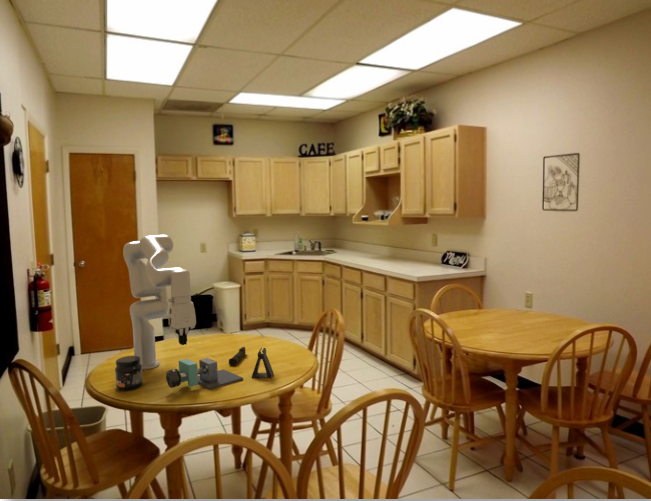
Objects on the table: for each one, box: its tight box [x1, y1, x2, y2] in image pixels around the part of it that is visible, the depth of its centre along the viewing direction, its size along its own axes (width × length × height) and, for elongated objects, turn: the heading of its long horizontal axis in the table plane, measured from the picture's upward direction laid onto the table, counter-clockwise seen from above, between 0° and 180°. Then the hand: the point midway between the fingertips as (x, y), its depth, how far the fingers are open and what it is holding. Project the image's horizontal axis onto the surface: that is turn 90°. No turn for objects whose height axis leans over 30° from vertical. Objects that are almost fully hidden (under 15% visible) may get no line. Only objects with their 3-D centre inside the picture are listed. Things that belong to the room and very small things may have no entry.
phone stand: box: [251, 347, 274, 379], centre depth 208 cm, size 9×6×12 cm, turn 88°
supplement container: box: [114, 355, 144, 392], centre depth 197 cm, size 10×10×12 cm
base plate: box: [198, 368, 244, 391], centre depth 204 cm, size 16×16×1 cm
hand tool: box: [228, 346, 246, 367], centre depth 231 cm, size 19×4×5 cm, turn 169°
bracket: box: [198, 357, 219, 384], centre depth 201 cm, size 8×4×8 cm, turn 44°
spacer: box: [178, 358, 199, 388], centre depth 194 cm, size 9×4×9 cm, turn 44°
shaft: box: [165, 367, 206, 389], centre depth 195 cm, size 7×19×7 cm, turn 134°
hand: (183, 344), depth 192 cm, fingers closed
